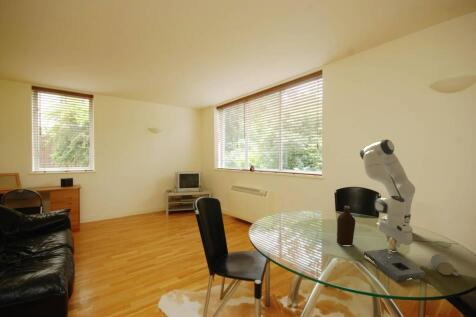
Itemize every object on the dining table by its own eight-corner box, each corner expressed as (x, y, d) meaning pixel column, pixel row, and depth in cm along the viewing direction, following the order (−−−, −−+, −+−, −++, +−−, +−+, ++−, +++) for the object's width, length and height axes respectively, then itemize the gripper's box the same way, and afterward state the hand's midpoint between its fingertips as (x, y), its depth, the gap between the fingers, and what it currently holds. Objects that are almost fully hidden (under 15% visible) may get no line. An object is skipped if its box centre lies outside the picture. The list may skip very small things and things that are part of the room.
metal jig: (363, 257, 130) (364, 251, 130) (387, 254, 133) (387, 248, 133) (397, 282, 109) (397, 275, 108) (424, 278, 112) (424, 271, 111)
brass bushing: (386, 249, 139) (387, 236, 138) (392, 248, 140) (393, 236, 139) (392, 252, 135) (393, 240, 134) (398, 252, 136) (400, 239, 135)
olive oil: (357, 246, 142) (360, 208, 139) (342, 248, 140) (345, 209, 137) (346, 238, 152) (349, 203, 149) (332, 240, 150) (334, 204, 147)
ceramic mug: (436, 274, 115) (438, 260, 114) (429, 265, 123) (431, 252, 122) (462, 279, 111) (465, 265, 110) (453, 270, 119) (456, 256, 118)
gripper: (377, 216, 145) (375, 237, 147) (406, 230, 125) (403, 253, 127) (385, 216, 146) (383, 236, 148) (415, 229, 126) (413, 252, 128)
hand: (393, 244), depth 137 cm, fingers closed on brass bushing, 4 cm apart
